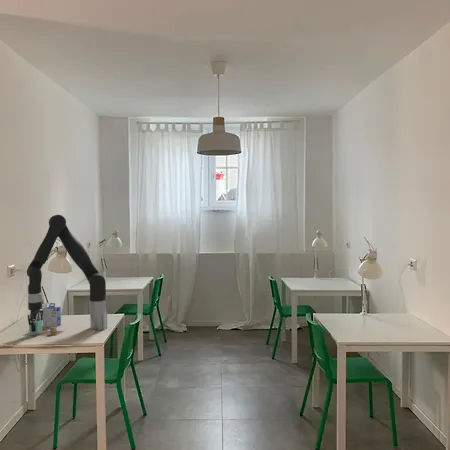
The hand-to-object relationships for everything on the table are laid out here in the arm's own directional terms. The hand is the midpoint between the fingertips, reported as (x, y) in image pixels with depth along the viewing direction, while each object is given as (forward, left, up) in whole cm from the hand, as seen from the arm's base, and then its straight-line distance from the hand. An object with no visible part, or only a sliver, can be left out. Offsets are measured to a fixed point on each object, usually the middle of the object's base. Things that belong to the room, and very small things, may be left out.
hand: (36, 330), depth 295 cm
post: (0, 0, -3) cm, 3 cm away
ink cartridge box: (+1, -22, -4) cm, 22 cm away
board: (-3, -3, -3) cm, 6 cm away
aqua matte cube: (0, 0, -1) cm, 1 cm away
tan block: (-10, -1, -3) cm, 10 cm away
